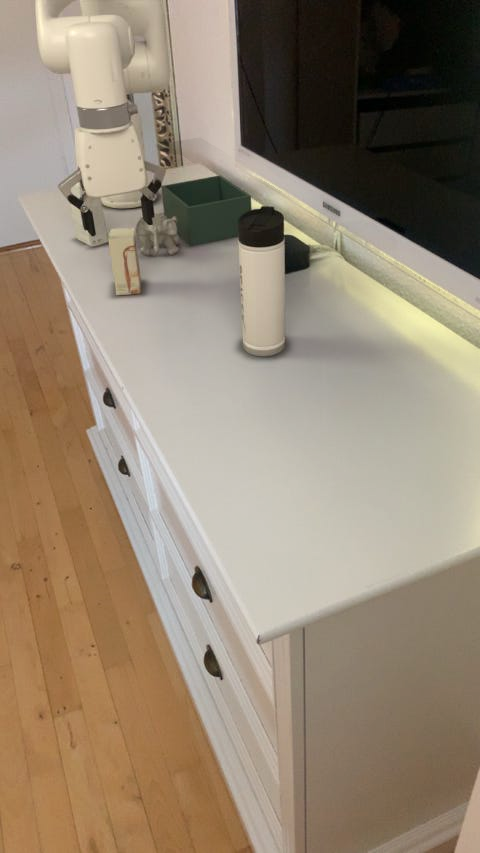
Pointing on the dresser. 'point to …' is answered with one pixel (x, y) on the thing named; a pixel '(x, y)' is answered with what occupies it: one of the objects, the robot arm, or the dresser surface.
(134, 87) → the robot arm
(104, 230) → the cosmetic box
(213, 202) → the bin
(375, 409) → the dresser surface
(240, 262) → the travel mug
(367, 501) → the dresser surface
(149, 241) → the gray elephant figurine
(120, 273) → the cream printed box
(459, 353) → the dresser surface
